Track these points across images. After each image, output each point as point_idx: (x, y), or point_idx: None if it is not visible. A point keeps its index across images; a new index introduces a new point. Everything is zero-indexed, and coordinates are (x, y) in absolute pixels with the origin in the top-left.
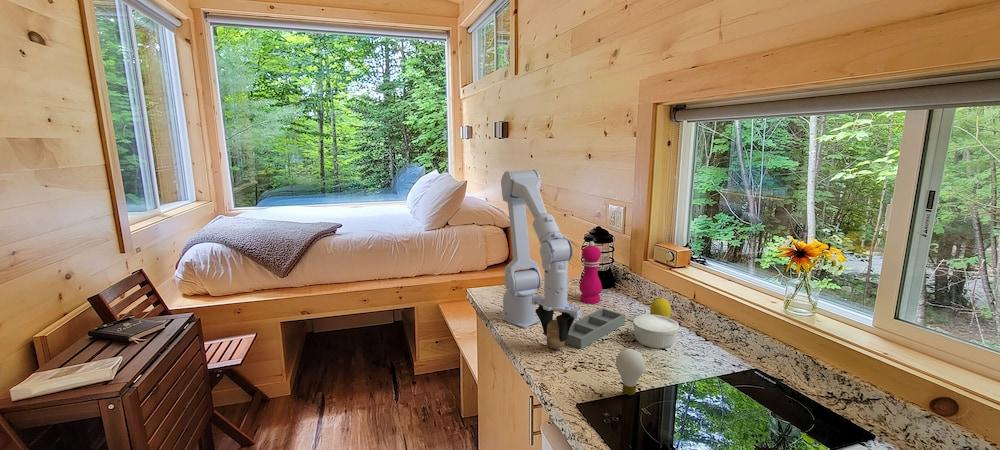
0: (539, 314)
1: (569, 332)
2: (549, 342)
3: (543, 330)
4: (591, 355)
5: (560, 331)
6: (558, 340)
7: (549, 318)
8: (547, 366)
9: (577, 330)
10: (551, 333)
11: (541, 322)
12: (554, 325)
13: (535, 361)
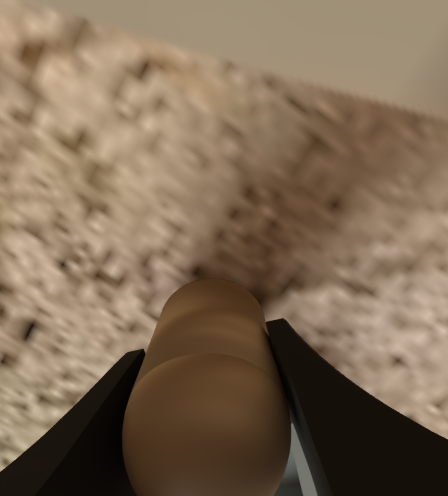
0: (411, 483)
1: (292, 452)
2: (201, 294)
3: (293, 333)
4: (70, 402)
5: (80, 414)
6: (149, 345)
7: (318, 491)
8: (55, 151)
9: (285, 486)
10: (174, 346)
11: (335, 379)
12: (151, 439)
13: (144, 123)
